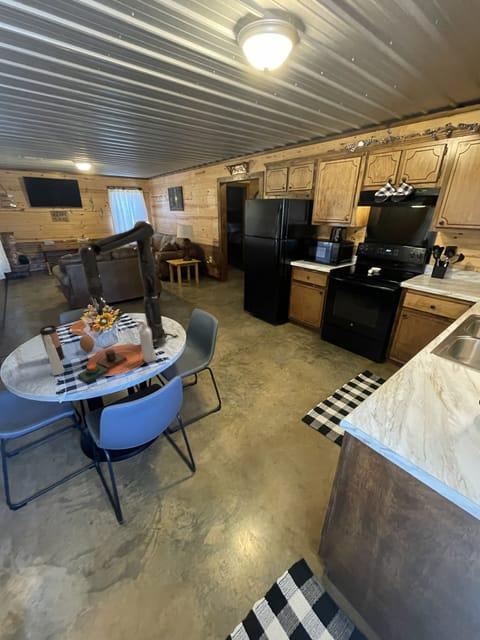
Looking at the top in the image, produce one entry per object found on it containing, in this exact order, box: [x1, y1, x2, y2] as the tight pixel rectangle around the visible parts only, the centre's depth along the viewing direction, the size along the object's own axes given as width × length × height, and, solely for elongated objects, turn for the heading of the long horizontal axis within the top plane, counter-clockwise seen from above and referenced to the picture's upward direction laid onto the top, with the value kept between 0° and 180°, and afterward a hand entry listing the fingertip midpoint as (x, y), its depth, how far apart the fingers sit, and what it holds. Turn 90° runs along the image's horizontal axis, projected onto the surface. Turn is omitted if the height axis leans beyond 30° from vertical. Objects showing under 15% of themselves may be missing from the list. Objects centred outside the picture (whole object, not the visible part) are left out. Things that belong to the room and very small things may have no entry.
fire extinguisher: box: [134, 318, 159, 363], centre depth 148 cm, size 7×12×25 cm, turn 61°
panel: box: [96, 352, 128, 372], centre depth 149 cm, size 12×10×3 cm
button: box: [87, 364, 96, 371], centre depth 137 cm, size 4×4×2 cm
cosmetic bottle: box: [44, 335, 66, 376], centre depth 137 cm, size 6×6×22 cm
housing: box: [77, 364, 109, 384], centre depth 138 cm, size 11×9×4 cm
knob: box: [104, 349, 116, 362], centre depth 148 cm, size 5×5×5 cm
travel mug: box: [39, 325, 65, 361], centre depth 150 cm, size 8×8×20 cm
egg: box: [79, 334, 95, 353], centre depth 161 cm, size 8×8×11 cm
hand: (100, 315), depth 145 cm, fingers closed
